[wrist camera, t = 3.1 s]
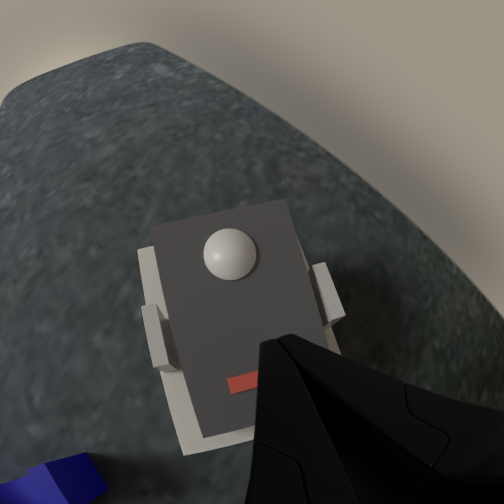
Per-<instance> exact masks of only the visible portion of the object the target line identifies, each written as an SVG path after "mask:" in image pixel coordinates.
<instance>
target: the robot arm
mask: <svg viewBox="0 0 504 504" xmlns="http://www.w3.org/2000/svg"><path fill="white" fill-rule="evenodd" d="M244 504H504V410H501V409H496V408H492V407H487V406H483V405H478V404H474V403H470V402H466V401H461V400H458V399H454V398H451V397H447V396H443V395H440V394H437V393H434V392H431V391H428V390H426V389H423V388H420V387H417V386H415V385H412V384H410V383H407V382H406V383H404V381H402V380H399V379H397V378H394V377H392V376H389V375H387V374H385V373H382V372H380V371H377V370H375V369H372V368H370V367H368V366H365V365H363V364H361V363H358V362H356V361H354V360H351V359H349V358H347V357H344V356H342V355H340V354H337V353H335V352H333V351H331V350H328V349H326V348H324V347H322V346H319V345H317V344H315V343H313V342H310V341H308V340H306V339H304V338H302V337H299V336H297V335H295V334H292V333H290V334H287V335H283V336H280V337H278V338H277V339H274V338H273V339H269V340H266V341H262V342H260V344H259V361H258V378H257V395H256V411H255V427H254V443H253V454H252V464H251V472H250V479H249V484H248V489H247V494H246V498H245V502H244Z"/></svg>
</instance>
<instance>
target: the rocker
mask: <svg viewBox="0 0 504 504" xmlns="http://www.w3.org/2000/svg"><path fill="white" fill-rule="evenodd" d="M150 230H151V235H152V241H153V246H154V252H155V257H156V262H157V267H158V272H159V277H160V281H161V286H162V291H163V295H164V300H165V304H166V308H167V313H168V317H169V321H170V325H171V329H172V333H173V337H174V341H175V345H176V349H177V353H178V356H179V360H180V364H181V367H182V371H183V375H184V378H185V382H186V385H187V388H188V392H189V395H190V399H191V402H192V405H193V408H194V412H195V415H196V418H197V421H198V424H199V427H200V430H201V433H202V436H203V438H207V437H211V436H216V435H220V434H224V433H228V432H232V431H236V430H240V429H243V428H247V427H251V426H254V425H255V411H256V395H257V378H258V361H259V344H260V342H262V341H266V340H269V339H273V338H274V339H277V338H278V337H280V336H283V335H287V334H290V333H292V334H295V335H297V336H299V337H302V338H304V339H306V340H308V341H310V342H313V343H315V344H317V345H319V346H322V347H324V348H326V349H328V350H329V346H328V343H327V339H326V335H325V331H324V328H323V324H322V321H321V317H320V313H319V310H318V306H317V303H316V299H315V296H314V292H313V289H312V285H311V282H310V279H309V275H308V272H307V268H306V265H305V262H304V258H303V255H302V252H301V249H300V245H299V242H298V239H297V236H296V232H295V229H294V226H293V223H292V220H291V216H290V213H289V210H288V207H287V204H286V201H285V199H281V200H275V201H270V202H265V203H259V204H254V205H249V206H244V207H239V208H234V209H229V210H224V211H219V212H215V213H210V214H205V215H200V216H196V217H191V218H187V219H182V220H177V221H173V222H168V223H164V224H160V225H155V226H151V227H150Z"/></svg>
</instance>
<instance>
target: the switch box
mask: <svg viewBox="0 0 504 504" xmlns="http://www.w3.org/2000/svg"><path fill="white" fill-rule="evenodd" d="M296 236H297V235H296ZM297 239H298V238H297ZM298 242H299V240H298ZM299 245H300V243H299ZM300 249H301V252H302V255H303V258H304V262H305V265H306V268H307V272H308V275H309V279H310V282H311V285H312V289H313V292H314V296H315V299H316V303H317V306H318V310H319V313H320V317H321V321H322V324H323V328H324V331H325V335H326V339H327V343H328V346H329V350H331V351H333V352H335V353H337V354H340V355H341V353H340V350H339V347H338V345H337V342H336V339H335V336H334V333H333V330H332V328H331V326H332V325H334V324H335V323H336V322H338V321H339V320H340V319H342V318H343V317H344V316H345V312H344V310H343V307H342V304H341V302H340V299H339V296H338V294H337V291H336V289H335V286H334V284H333V281H332V279H331V276H330V274H329V271H328V269H327V266H326V264H325V262H323V263H319V264H315V265H312V266H311V268H310V269H309V266H308V263H307V261H306V258H305V256H304V253H303V251H302V248H301V245H300ZM138 258H139V264H140V271H141V278H142V284H143V290H144V296H145V301H146V305H145V306H141V309H142V314H143V320H144V325H145V330H146V335H147V340H148V345H149V350H150V354H151V359H152V363H153V367H154V368H156V369H158V370H160V373H161V377H162V381H163V385H164V389H165V393H166V397H167V401H168V404H169V408H170V412H171V415H172V419H173V422H174V426H175V429H176V432H177V436H178V439H179V442H180V445H181V449H182V452H183V455H189V454H194V453H199V452H204V451H209V450H213V449H217V448H222V447H226V446H230V445H234V444H238V443H242V442H245V441H249V440H253V439H254V427H255V425H254V426H251V427H247V428H243V429H240V430H236V431H232V432H228V433H224V434H220V435H216V436H211V437H207V438H203V436H202V433H201V430H200V427H199V424H198V421H197V418H196V415H195V412H194V408H193V405H192V402H191V399H190V395H189V392H188V388H187V385H186V382H185V378H184V375H183V371H182V367H181V364H180V360H179V356H178V353H177V349H176V345H175V341H174V337H173V333H172V329H171V325H170V321H169V317H168V313H167V308H166V304H165V300H164V295H163V291H162V286H161V281H160V277H159V272H158V267H157V262H156V257H155V252H154V246H151V247H146V248H142V249H138Z"/></svg>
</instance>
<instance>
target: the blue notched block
mask: <svg viewBox="0 0 504 504" xmlns="http://www.w3.org/2000/svg"><path fill="white" fill-rule="evenodd" d="M27 471H28V473H29V475H27V476H25V477H22V478H19V479H16V480H14V481H11V482H8V483H4V484H1V485H0V504H87V503H89V502H90V501H92V500H94V499H95V498H97V497H98V496H100V495H101V494H103V493H104V492H106V491H107V490H109V488H108V486H107V485H106V483H105V482H104V480H103V479H102V477H101V476H100V474H99V473H98V471H97V470H96V468H95V466H94V465H93V463H92V461H91V460H90V458H89V456H88V455H87V453H86V452H85V453H81V454H78V455H74V456H71V457H67V458H63V459H59V460H55V461H51V462H47V463H44V464H41V465H39V466H36V467H34V468H31V469H29V470H27Z"/></svg>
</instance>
